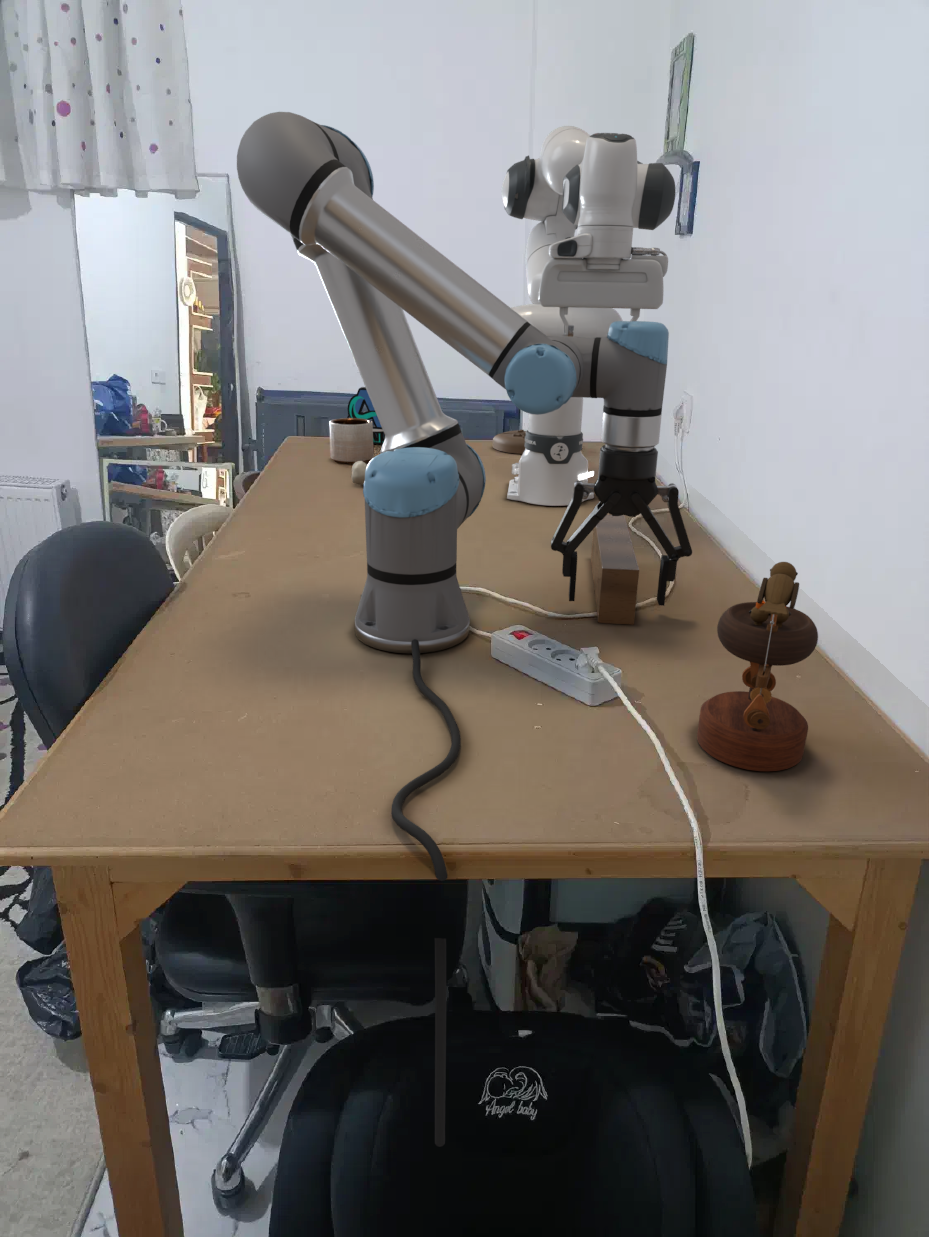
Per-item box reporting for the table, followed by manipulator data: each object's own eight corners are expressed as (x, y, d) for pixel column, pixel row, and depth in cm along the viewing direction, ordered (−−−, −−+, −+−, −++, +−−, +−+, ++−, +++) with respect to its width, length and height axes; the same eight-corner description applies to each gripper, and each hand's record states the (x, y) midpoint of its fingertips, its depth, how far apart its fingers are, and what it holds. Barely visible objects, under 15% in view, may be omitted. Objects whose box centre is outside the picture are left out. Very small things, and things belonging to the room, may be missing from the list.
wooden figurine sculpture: (826, 784, 80) (847, 586, 73) (707, 784, 81) (715, 589, 74) (787, 708, 94) (802, 535, 87) (686, 708, 95) (692, 539, 88)
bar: (633, 624, 116) (639, 570, 113) (598, 623, 117) (602, 568, 114) (620, 561, 142) (624, 515, 139) (590, 560, 143) (594, 514, 140)
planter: (327, 456, 217) (325, 418, 214) (369, 454, 220) (368, 417, 217) (334, 465, 208) (332, 425, 204) (377, 463, 211) (376, 424, 207)
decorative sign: (399, 443, 236) (398, 387, 230) (398, 444, 233) (397, 389, 228) (332, 441, 237) (329, 386, 231) (330, 442, 234) (327, 387, 229)
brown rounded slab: (498, 463, 213) (499, 446, 211) (490, 442, 239) (491, 427, 237) (581, 463, 214) (582, 447, 212) (564, 443, 240) (565, 428, 238)
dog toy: (438, 479, 195) (438, 457, 193) (442, 485, 190) (442, 463, 188) (350, 481, 192) (349, 459, 190) (351, 487, 187) (351, 464, 185)
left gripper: (717, 443, 113) (698, 594, 122) (538, 437, 115) (531, 586, 124) (728, 454, 106) (706, 614, 115) (537, 448, 109) (529, 605, 117)
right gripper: (667, 248, 138) (658, 337, 143) (541, 246, 140) (537, 334, 145) (672, 247, 132) (662, 340, 137) (540, 245, 134) (536, 337, 139)
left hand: (615, 600), depth 119 cm, fingers open, 12 cm apart
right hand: (597, 337), depth 141 cm, fingers open, 8 cm apart
